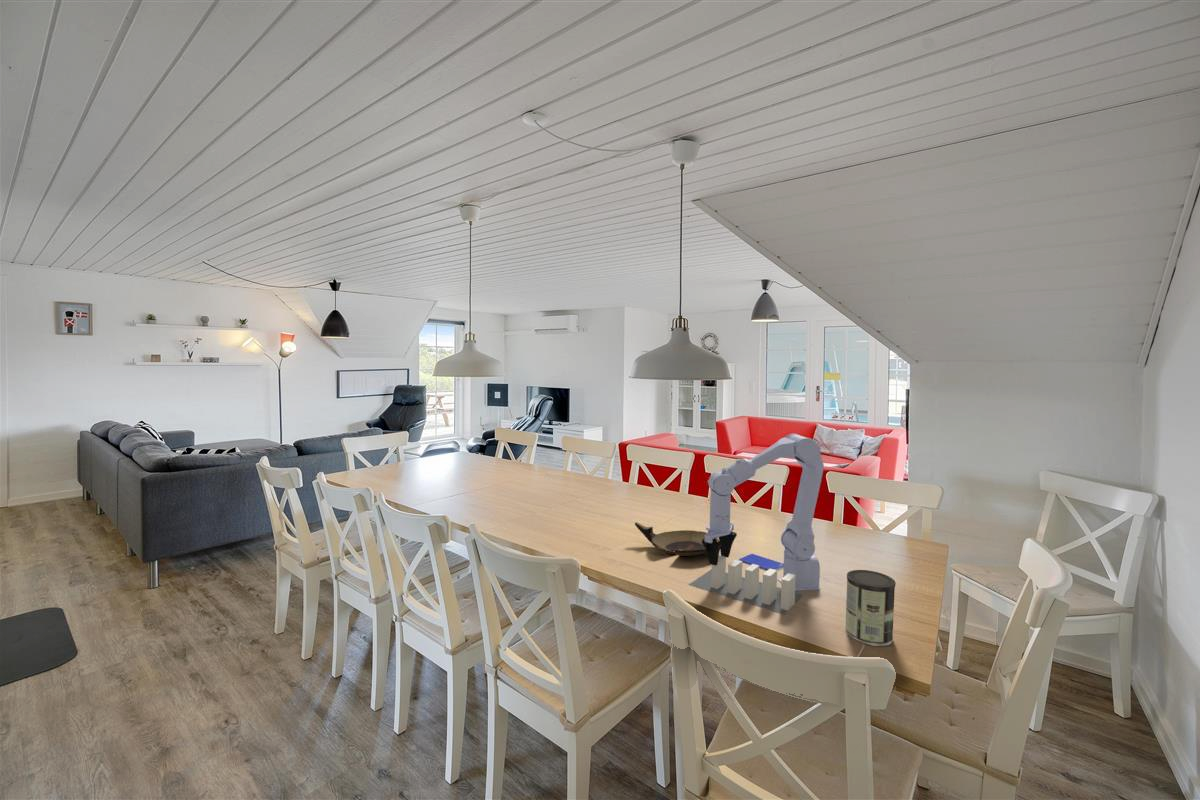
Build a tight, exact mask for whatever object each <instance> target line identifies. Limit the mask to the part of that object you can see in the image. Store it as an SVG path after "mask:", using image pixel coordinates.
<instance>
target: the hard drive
mask: <svg viewBox="0 0 1200 800" xmlns="http://www.w3.org/2000/svg"><path fill="white" fill-rule="evenodd" d="M738 560H740V561H742V564H743V563H744V564H746V565H749V566H750V565H752V564H755V565H759V569H761V570H765V571H767V570H769V569H774V570H777V571H779V570H781V569H784V562H780V561H777V560H773V559H770V558H767V557H763V556H760V555H758V554H755V553H751V554H748V555H747V554H746V555H745V556H743V557H741V558H739V559H738Z"/></svg>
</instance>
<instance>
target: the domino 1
mask: <svg viewBox="0 0 1200 800" xmlns="http://www.w3.org/2000/svg"><path fill="white" fill-rule="evenodd" d="M726 564H727V557H724V556H721V554H719V557H718V563H717V565H716V566H715V565H711V569H712V572H711V587H712V588H715V589H719V588H720V587H721V586H723V585H724V584H725V577H726V573H727V572H726V571H727V570H726V569H727V565H726Z"/></svg>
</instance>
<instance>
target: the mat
mask: <svg viewBox="0 0 1200 800" xmlns="http://www.w3.org/2000/svg"><path fill="white" fill-rule="evenodd" d="M711 572H712V568H711V569H710V570H708V571H707V572H705V573H704V574H702V575H701V576H699V577H697V578H695V580H693V581H692V582H690V583H688V585H689V586H692V587H694V588H698V589H701V590H703V591H708V592H710V593H714V594H717V595H721V596H724V597H727V598H730V599H732V600H737V601H739V602H742V603H746V604H748V605H752V606H754V607H758V608H762V609H766V610H768V611H772V612H775V613H778V614H780V615H786V614H787V613H788V612H789V611H787V610H783V609H781V587H779V586H777V589H776V599H775V600H774V601H773V602H772V603H771V604H770V605H767V604H764V603H762V587H763V582H761V581H759V593H758V594H757V595H756V596H755V597H754V598H753V599H752V600H751V599H747V598H744V594H745V576H744V577H743V576H742V589H740V590H739V591H738V592H737V593H735V594H731V593H728V592H727V591H728V572H726V577H725V584H724V585H723V586H721V587H720V588H719V589H715V588H712V587H711ZM803 596H804V593H800V592H797V591H795V604H796V603H797V602H799V600H800V599H802V598H803ZM795 604H794V605H793V606H792V607H791V609H792V608H793V607H794V606H795Z"/></svg>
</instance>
